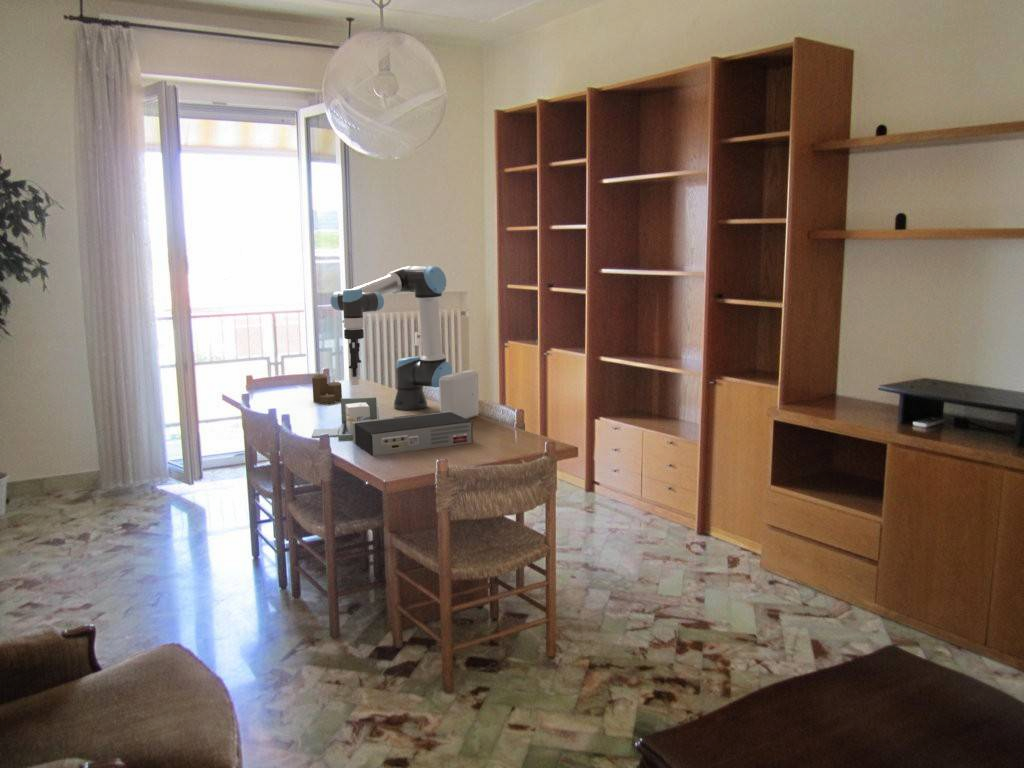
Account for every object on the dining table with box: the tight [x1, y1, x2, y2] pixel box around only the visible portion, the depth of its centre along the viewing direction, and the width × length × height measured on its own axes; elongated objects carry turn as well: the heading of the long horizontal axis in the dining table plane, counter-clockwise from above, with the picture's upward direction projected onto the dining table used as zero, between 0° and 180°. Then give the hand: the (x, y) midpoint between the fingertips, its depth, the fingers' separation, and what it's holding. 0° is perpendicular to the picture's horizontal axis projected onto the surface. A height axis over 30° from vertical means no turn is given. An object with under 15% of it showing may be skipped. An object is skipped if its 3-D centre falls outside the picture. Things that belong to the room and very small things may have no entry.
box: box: [352, 411, 474, 457], centre depth 318 cm, size 40×25×9 cm, turn 118°
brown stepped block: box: [311, 370, 343, 405], centre depth 399 cm, size 14×14×15 cm
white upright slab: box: [438, 369, 480, 420], centre depth 355 cm, size 21×8×20 cm, turn 149°
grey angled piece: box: [337, 396, 380, 441], centre depth 334 cm, size 16×24×12 cm, turn 8°
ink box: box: [345, 402, 370, 434], centre depth 333 cm, size 9×8×12 cm
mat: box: [311, 427, 340, 438], centre depth 334 cm, size 10×12×1 cm
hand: (355, 382), depth 330 cm, fingers open, 13 cm apart
